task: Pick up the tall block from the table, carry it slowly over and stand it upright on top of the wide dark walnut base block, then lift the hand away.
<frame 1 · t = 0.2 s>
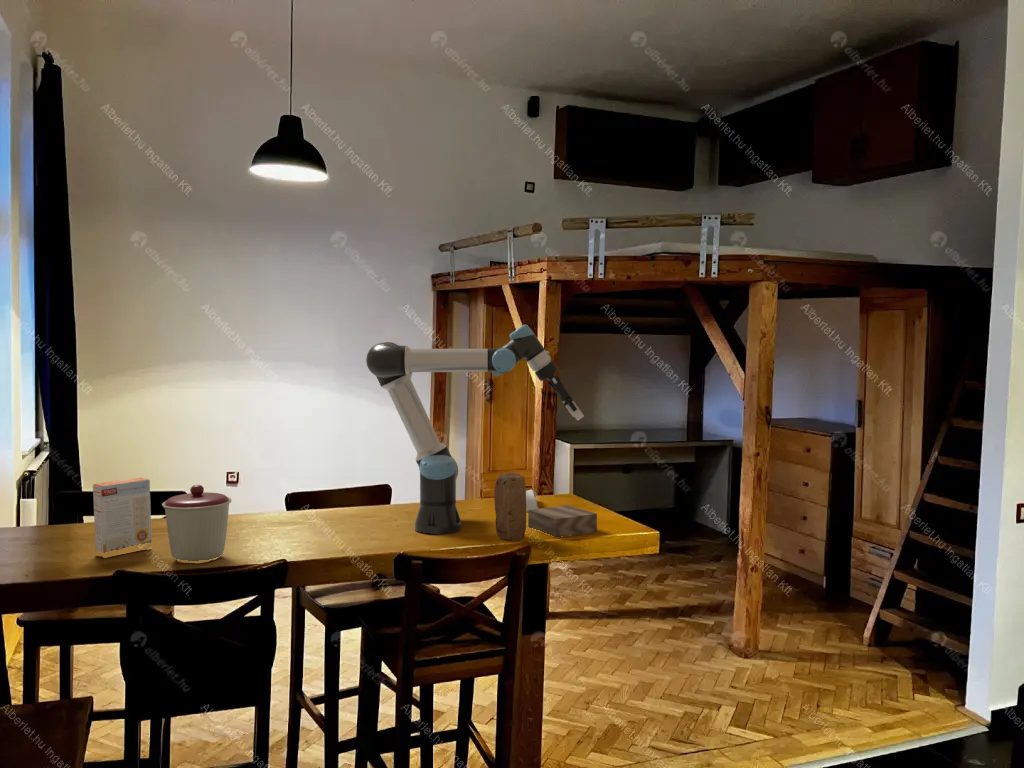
hand: (578, 416, 277), 36 cm above the table, tool tilted 35°, fingers open, 13 cm apart
block: (509, 538, 253), on the table
spoon rest: (524, 506, 303), on the table
cracker box: (123, 553, 234), on the table
base block: (562, 530, 263), on the table
canister: (198, 560, 226), on the table
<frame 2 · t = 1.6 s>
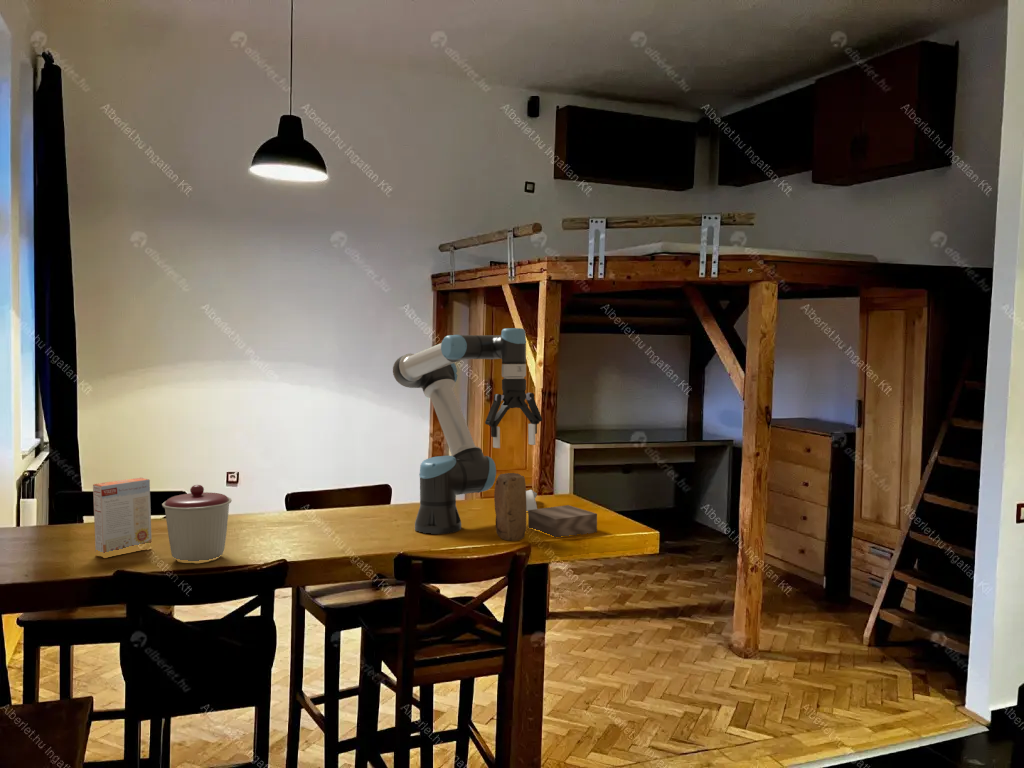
hand: (514, 446, 252), 29 cm above the table, tool pointing down, fingers open, 13 cm apart
nothing on the table moved.
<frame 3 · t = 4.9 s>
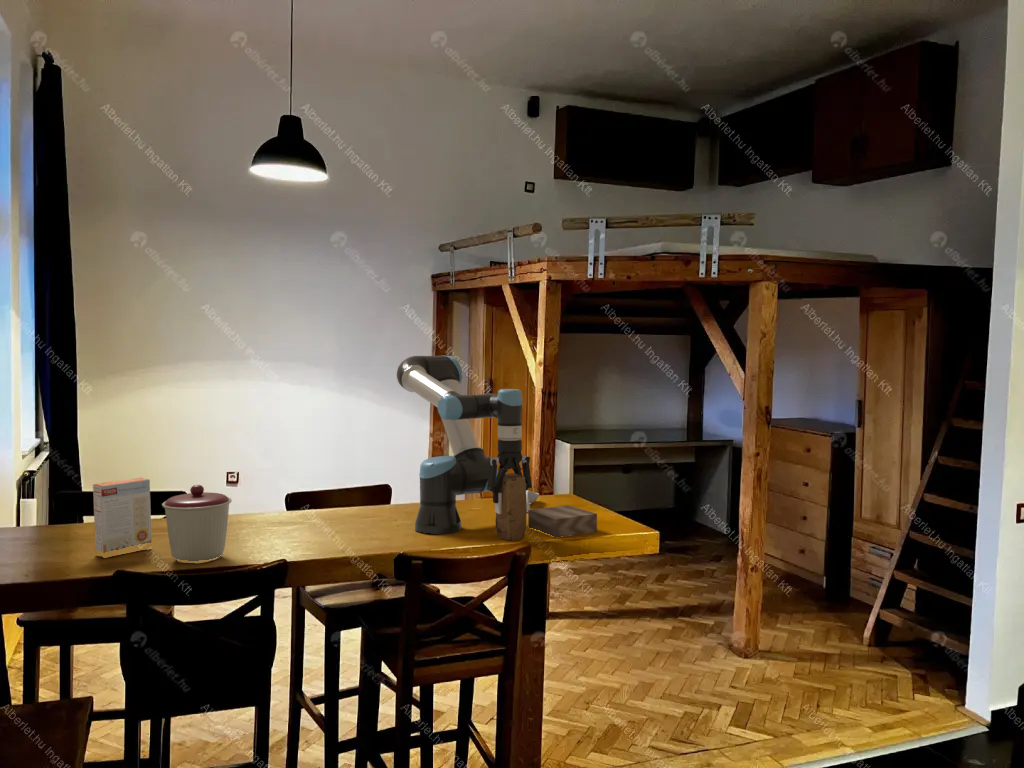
hand: (509, 511, 252), 8 cm above the table, tool pointing down, fingers closed on block, 7 cm apart
block: (509, 538, 253), on the table, touching gripper
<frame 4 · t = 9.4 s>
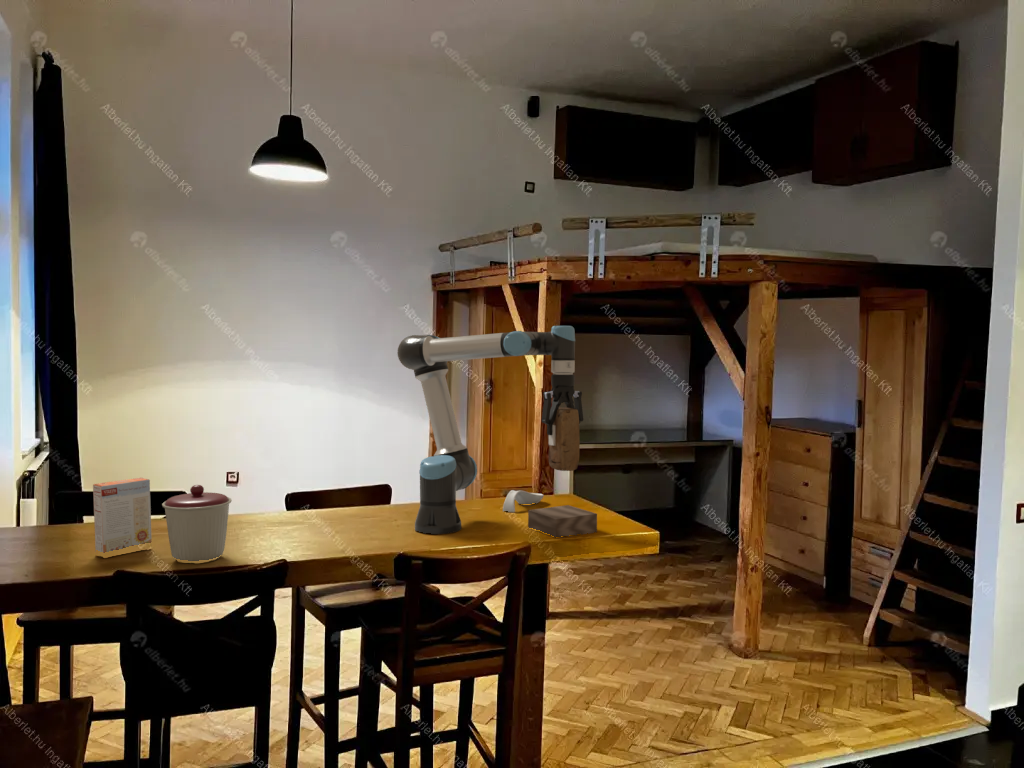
hand: (562, 444, 262), 28 cm above the table, tool pointing down, fingers closed on block, 7 cm apart
block: (562, 469, 262), point 20 cm above the table, touching gripper
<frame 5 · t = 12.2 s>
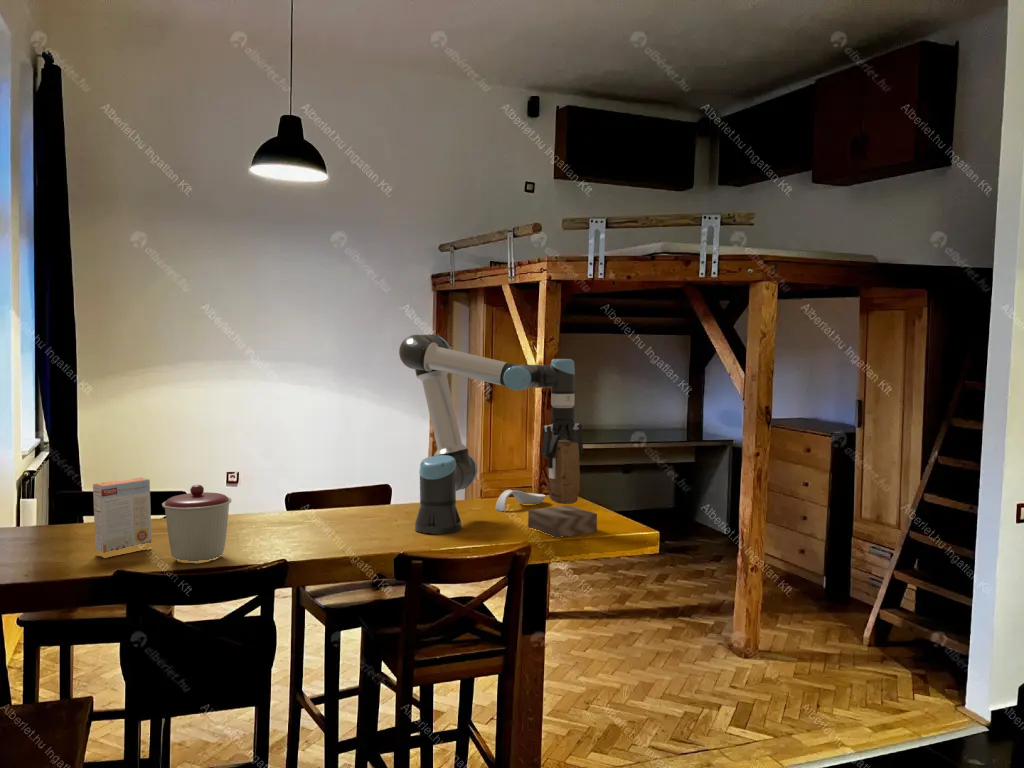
hand: (562, 476, 262), 17 cm above the table, tool pointing down, fingers closed on block, 7 cm apart
block: (562, 502, 263), point 9 cm above the table, touching gripper
when the fingers open (15 cm above the table, at t = 14.3 s): block stays where it is, resting on base block.
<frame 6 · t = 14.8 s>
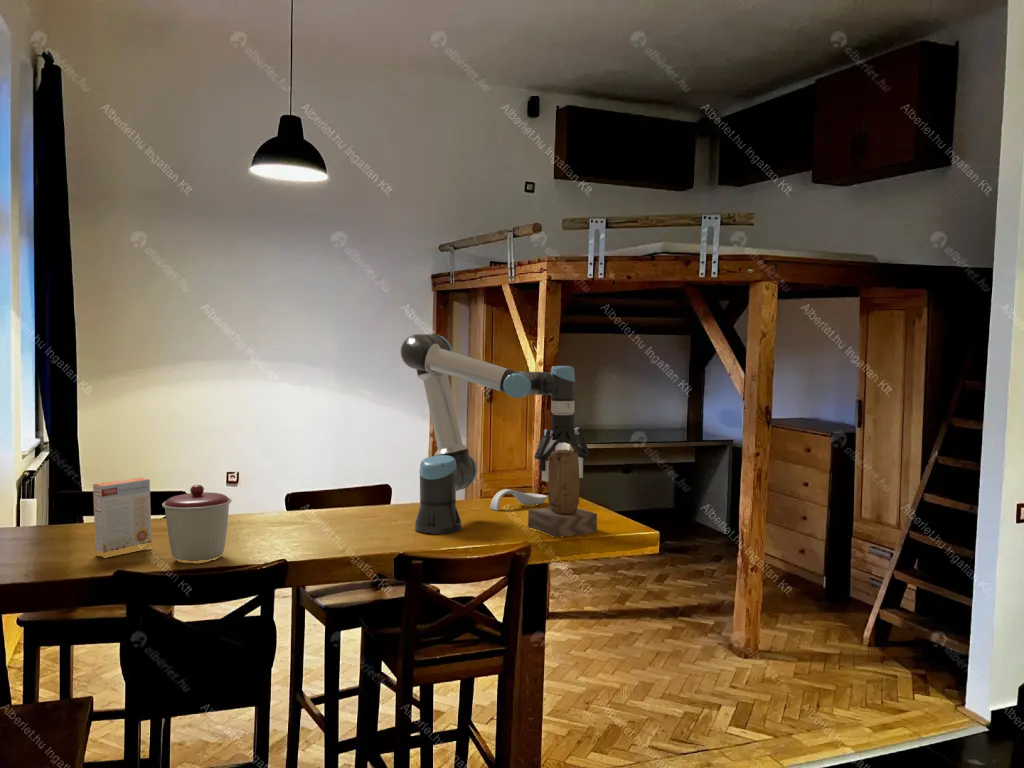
hand: (562, 479, 262), 17 cm above the table, tool pointing down, fingers open, 13 cm apart
block: (562, 512, 263), point 6 cm above the table, touching base block
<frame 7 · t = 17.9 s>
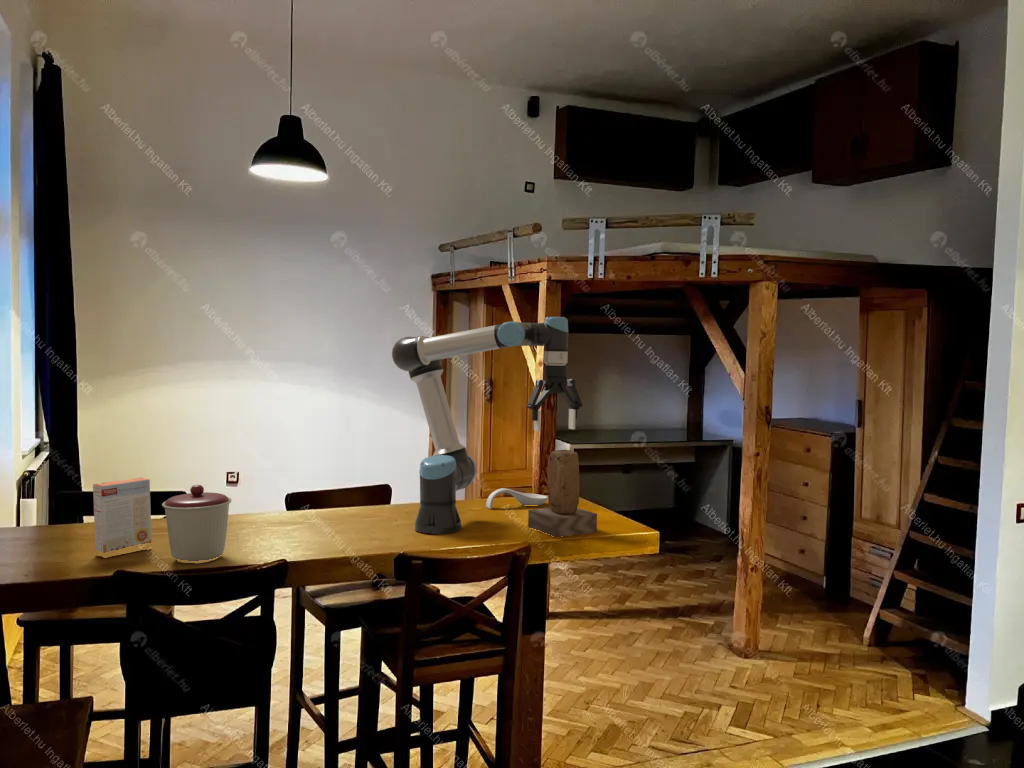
hand: (554, 430, 263), 33 cm above the table, tool pointing down, fingers open, 13 cm apart
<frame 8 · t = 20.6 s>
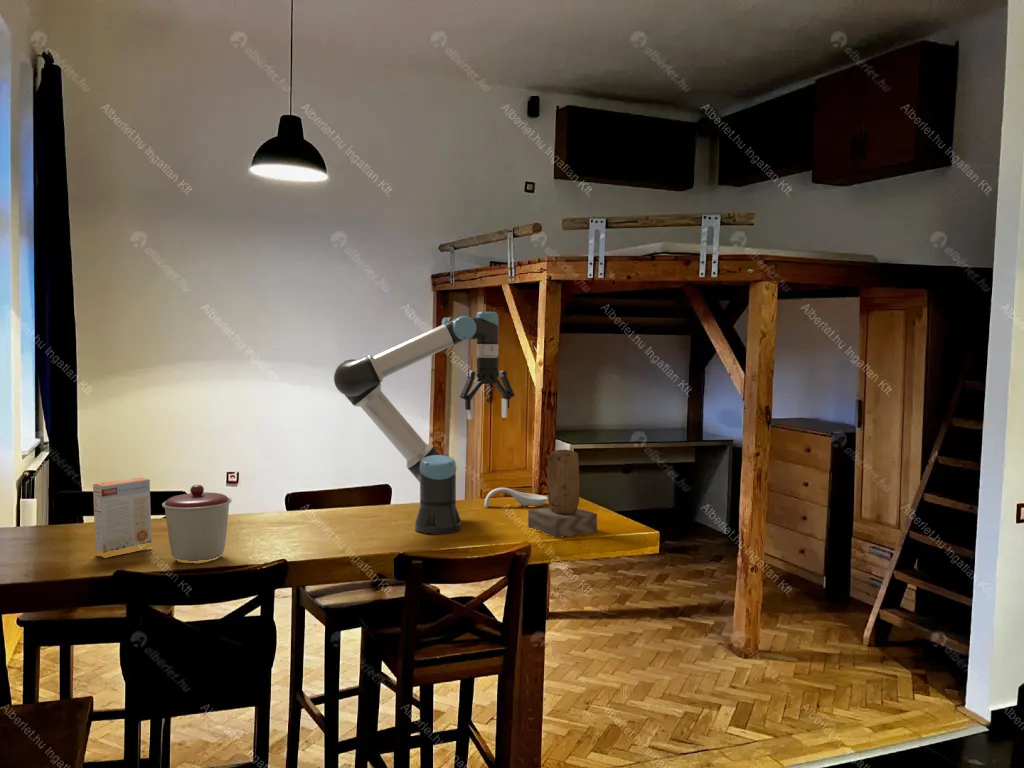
hand: (487, 418, 279), 35 cm above the table, tool pointing down, fingers open, 13 cm apart
at the end: block inside the target area on the base block (0.1 cm from its centre), point 5.8 cm above the base block's base; block tilted 0°; the gripper is holding nothing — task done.
